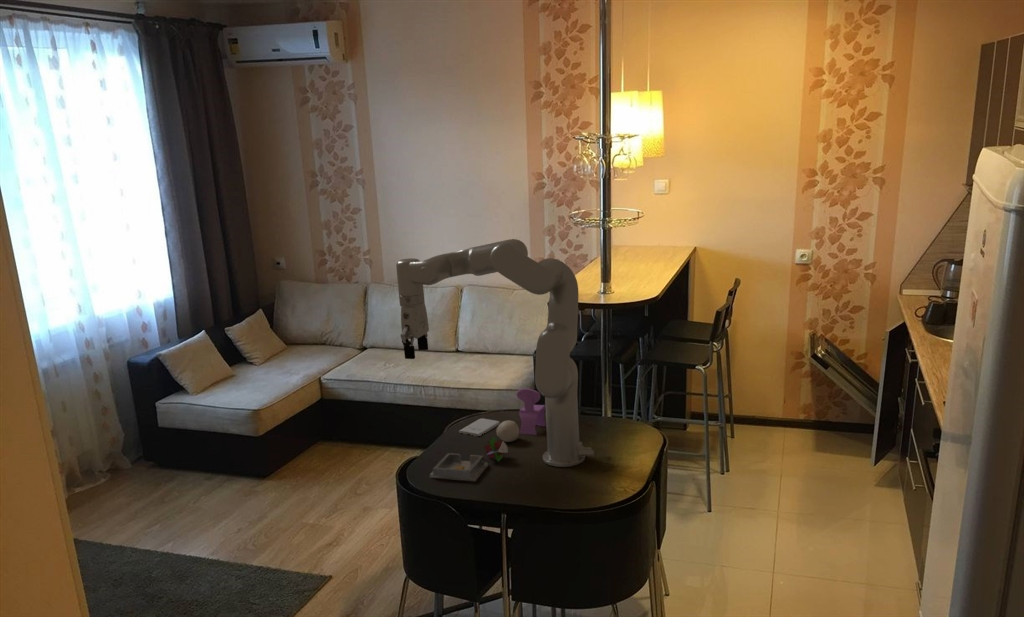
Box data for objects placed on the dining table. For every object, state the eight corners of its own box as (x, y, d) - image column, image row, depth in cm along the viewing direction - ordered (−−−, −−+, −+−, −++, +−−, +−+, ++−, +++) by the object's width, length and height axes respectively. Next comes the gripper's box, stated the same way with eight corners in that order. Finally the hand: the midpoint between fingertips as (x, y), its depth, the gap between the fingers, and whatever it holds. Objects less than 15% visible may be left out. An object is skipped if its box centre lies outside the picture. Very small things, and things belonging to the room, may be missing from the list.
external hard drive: (500, 425, 265) (479, 438, 255) (480, 422, 269) (458, 434, 259) (500, 421, 265) (478, 433, 254) (480, 417, 269) (458, 429, 259)
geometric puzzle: (475, 455, 234) (488, 436, 231) (485, 446, 240) (497, 428, 237) (494, 470, 233) (507, 452, 230) (503, 461, 239) (516, 443, 236)
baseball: (498, 437, 253) (497, 417, 252) (521, 437, 252) (519, 417, 251) (495, 445, 247) (493, 425, 246) (518, 445, 246) (516, 425, 244)
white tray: (488, 465, 232) (487, 455, 231) (475, 481, 221) (474, 471, 220) (444, 462, 236) (443, 452, 235) (429, 478, 225) (428, 468, 225)
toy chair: (549, 425, 260) (547, 382, 257) (539, 435, 253) (537, 391, 250) (526, 423, 264) (524, 381, 261) (516, 432, 256) (513, 389, 253)
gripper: (411, 306, 227) (416, 362, 231) (434, 293, 243) (439, 347, 247) (387, 305, 230) (393, 361, 233) (412, 293, 246) (417, 346, 249)
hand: (416, 354), depth 240 cm, fingers open, 9 cm apart
